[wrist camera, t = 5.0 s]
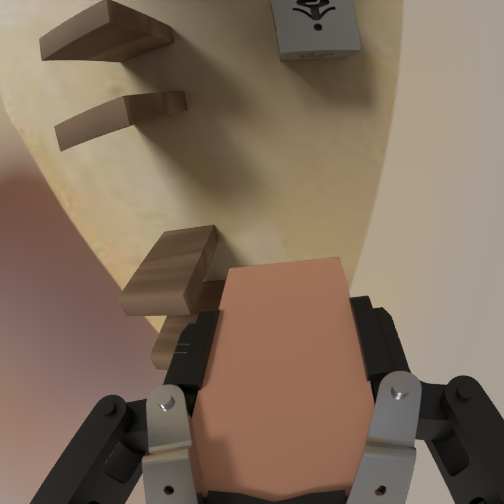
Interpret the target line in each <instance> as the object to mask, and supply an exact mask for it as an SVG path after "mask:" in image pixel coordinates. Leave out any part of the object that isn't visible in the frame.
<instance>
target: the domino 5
mask: <svg viewBox="0 0 504 504" xmlns="http://www.w3.org/2000/svg"><path fill="white" fill-rule="evenodd" d="M349 298H350V294H349V290H348V287H347V283H346V279H345V276H344V272H343V269H342V265H341V262H340V258H339V257H333V258H324V259H315V260H305V261H296V262H286V263H276V264H267V265H257V266H247V267H236V268H229V271H228V275H227V279H226V283H225V287H224V291H223V294H222V298H221V302H220V306H219V310H220V314H219V318H218V322H217V326H216V330H215V334H214V338H213V343H212V347H211V351H210V355H209V359H208V363H207V367H206V372H205V376H204V380H203V384H202V389H201V390H198V394H197V399H196V403H195V407H194V411H193V415H192V424H193V429H194V435H195V440H196V446H197V451H198V456H199V461H200V466H201V470H202V475H203V479H202V480H201V491H202V496H203V497H207V495H208V490H211V491H221V492H233V493H242V494H245V495H249V496H253V497H256V498H260V499H264V500H268V501H281V500H285V499H290V498H294V497H298V496H301V495H305V494H309V493H317V492H328V491H338V490H345V496H348V495H349V493H350V490H351V487H352V484H353V481H354V477H355V474H356V471H357V468H358V464H359V461H360V458H361V455H362V452H363V448H364V445H365V441H366V438H367V434H368V430H369V426H370V423H371V419H372V415H373V410H374V400H373V395H372V389H371V384H370V381H367V379H366V373H365V368H364V364H363V359H362V354H361V349H360V345H359V340H358V336H357V331H356V327H355V323H354V319H353V315H352V310H351V306H350V302H349ZM375 494H376V495H378V496H382V493H381V492H380V491H379V490H375Z"/></svg>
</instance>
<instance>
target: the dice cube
mask: <svg viewBox="0 0 504 504" xmlns="http://www.w3.org/2000/svg"><path fill="white" fill-rule="evenodd" d="M270 3H271V9H272V14H273V20H274V25H275V31H276V37H277V43H278V49H279V55H280V61H290V60H303V59H322V58H346V57H348V56H350V55H352V54H354V53H356V52H358V51H361V44H360V38H359V32H358V26H357V21H356V16H355V11H354V6H353V1H352V0H270Z"/></svg>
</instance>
